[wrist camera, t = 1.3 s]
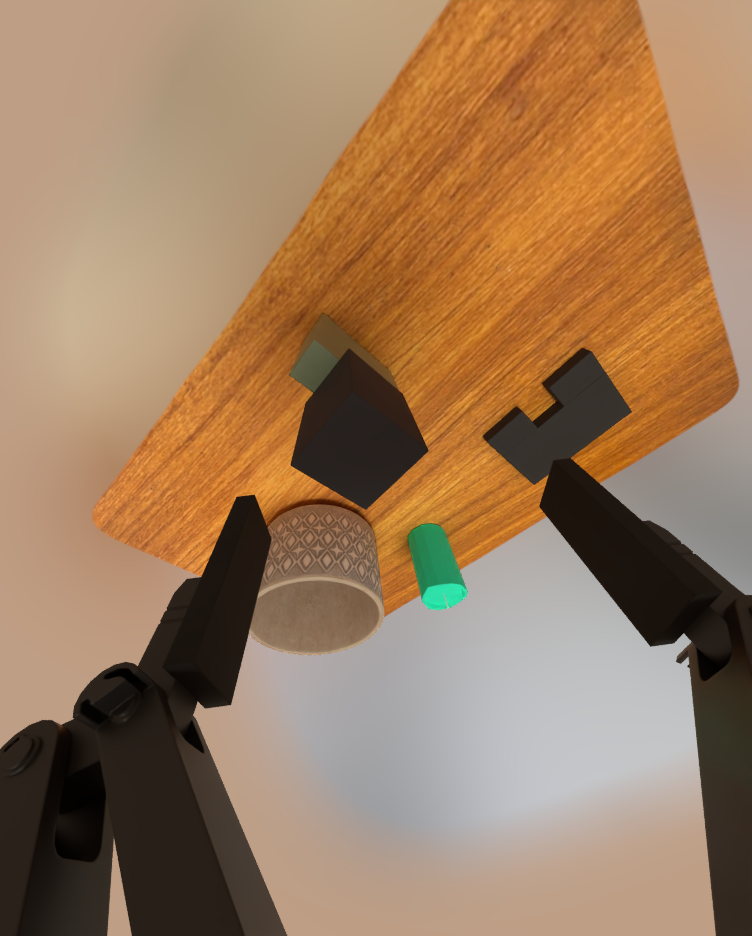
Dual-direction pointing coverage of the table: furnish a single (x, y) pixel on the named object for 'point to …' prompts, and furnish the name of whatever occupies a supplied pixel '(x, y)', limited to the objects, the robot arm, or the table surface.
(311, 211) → the table surface
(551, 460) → the pad
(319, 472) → the black rectangular block
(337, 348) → the stand
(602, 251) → the table surface
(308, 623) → the planter
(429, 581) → the candle
